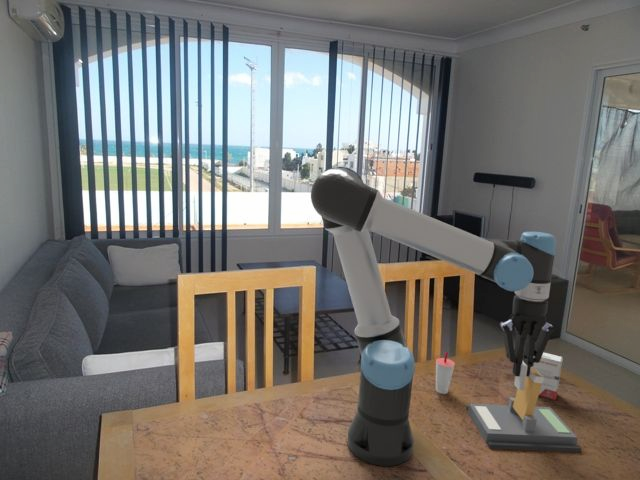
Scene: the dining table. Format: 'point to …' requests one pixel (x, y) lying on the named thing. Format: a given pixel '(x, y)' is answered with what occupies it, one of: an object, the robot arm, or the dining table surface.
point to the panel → (520, 425)
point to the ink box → (549, 374)
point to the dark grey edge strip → (534, 446)
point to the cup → (443, 374)
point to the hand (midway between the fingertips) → (519, 387)
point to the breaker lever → (528, 394)
